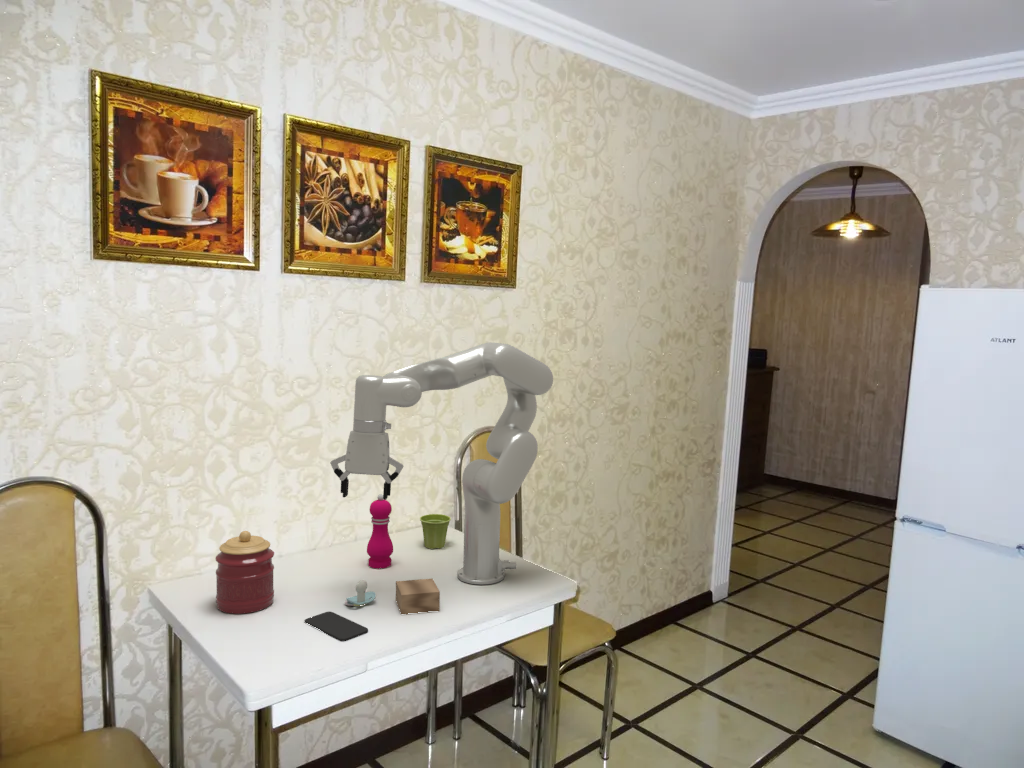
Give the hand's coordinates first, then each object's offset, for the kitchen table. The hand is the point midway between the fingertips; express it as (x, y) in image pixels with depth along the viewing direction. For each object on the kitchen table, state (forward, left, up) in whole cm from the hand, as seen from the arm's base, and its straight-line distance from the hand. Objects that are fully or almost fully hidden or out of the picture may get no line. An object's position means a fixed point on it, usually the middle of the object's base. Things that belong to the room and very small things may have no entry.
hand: (365, 497), depth 174 cm
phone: (+8, +14, -26) cm, 31 cm away
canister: (+27, -3, -26) cm, 38 cm away
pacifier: (+2, +3, -26) cm, 26 cm away
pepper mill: (-7, -23, -26) cm, 35 cm away
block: (-12, +7, -26) cm, 29 cm away
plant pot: (-25, -36, -26) cm, 51 cm away
